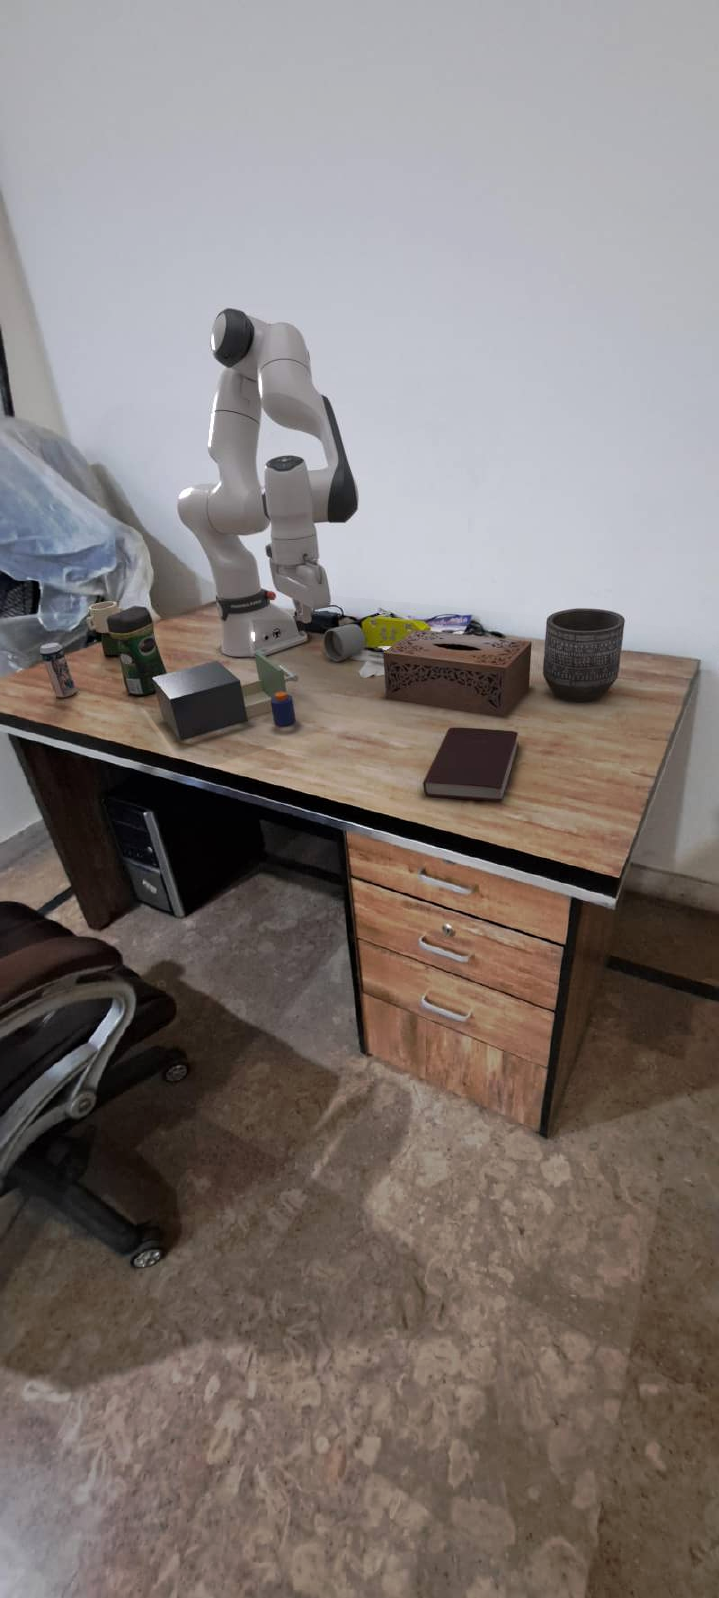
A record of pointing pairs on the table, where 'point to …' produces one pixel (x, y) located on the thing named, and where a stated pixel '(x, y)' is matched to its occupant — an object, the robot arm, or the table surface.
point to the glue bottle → (283, 709)
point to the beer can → (58, 669)
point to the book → (472, 764)
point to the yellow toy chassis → (389, 630)
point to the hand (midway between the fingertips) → (304, 621)
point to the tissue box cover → (458, 671)
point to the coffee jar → (136, 649)
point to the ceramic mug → (344, 641)
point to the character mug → (103, 624)
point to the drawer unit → (200, 699)
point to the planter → (582, 653)
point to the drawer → (265, 685)
